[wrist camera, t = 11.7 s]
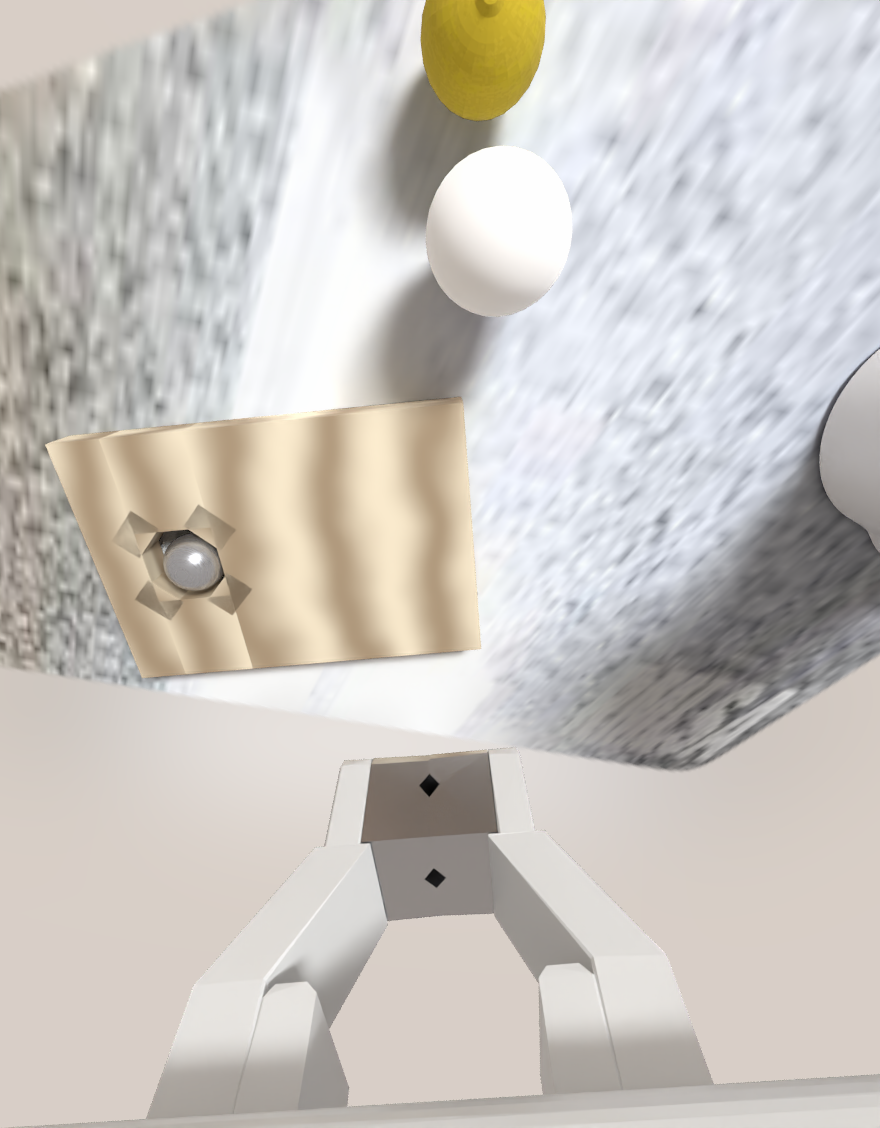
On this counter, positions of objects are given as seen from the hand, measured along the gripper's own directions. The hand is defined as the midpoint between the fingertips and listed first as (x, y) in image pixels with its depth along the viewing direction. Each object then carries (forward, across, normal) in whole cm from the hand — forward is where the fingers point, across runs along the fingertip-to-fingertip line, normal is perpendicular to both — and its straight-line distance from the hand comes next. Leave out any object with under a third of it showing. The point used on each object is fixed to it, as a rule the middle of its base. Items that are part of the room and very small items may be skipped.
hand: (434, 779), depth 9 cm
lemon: (+29, -4, -18) cm, 35 cm away
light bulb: (+29, -4, -10) cm, 31 cm away
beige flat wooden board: (+29, +11, +7) cm, 32 cm away
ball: (+27, +17, +7) cm, 33 cm away
